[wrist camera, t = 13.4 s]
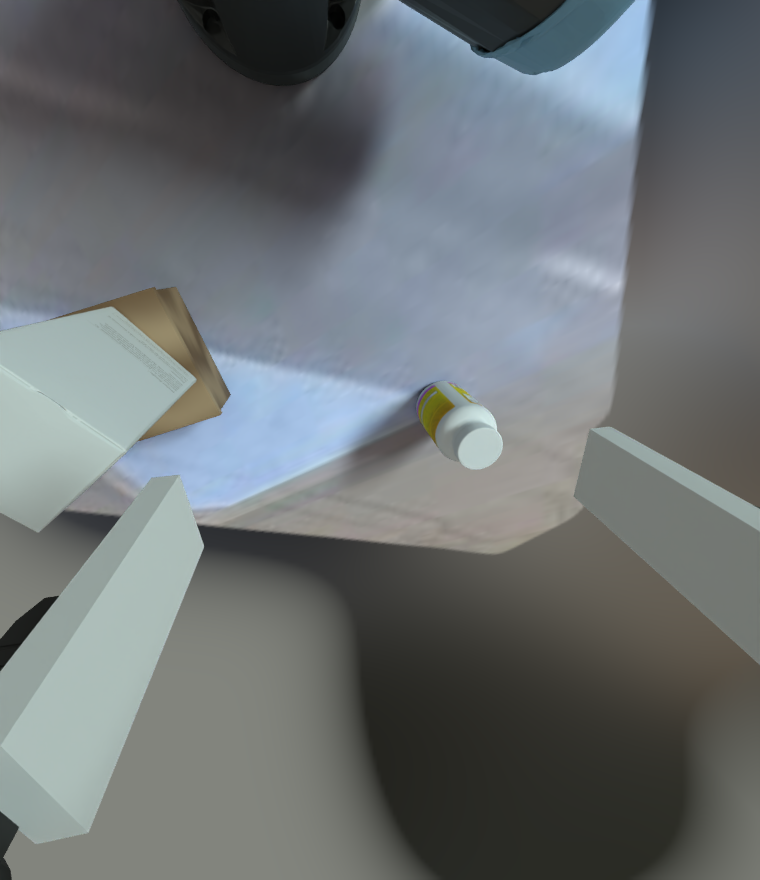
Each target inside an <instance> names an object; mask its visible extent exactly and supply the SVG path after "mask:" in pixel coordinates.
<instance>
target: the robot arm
mask: <svg viewBox="0 0 760 880" xmlns="http://www.w3.org/2000/svg"><path fill="white" fill-rule="evenodd" d="M399 1H401V2H402V3H404V4H406V5H407V6H409V7H410V8H412V9H414V10H415V11H417V12H418V13H420V14H422V15H423V16H425V17H427V18H428V19H430V20H431V21H433V22H435V23H436V24H438V25H439V26H441V27H443V28H444V29H446V30H448V31H449V32H451V33H452V34H454V35H456V36H457V37H459V38H460V39H462V40H464V41H465V42H467V43H469V44H470V46H471V50H472V51H473V52H475V53H476V54H477V55H479V56H481V57H484V58H495V59H497V60H499V61H501V62H502V63H504V64H506V65H508V66H510V67H512V68H514V69H516V70H518V71H519V72H522V73H524V74H529V75H537V74H540V73H542V72H548V71H553V70H556V69H558V68H560V67H562V66H564V65H565V64H567V63H568V62H570V61H572V60H573V59H575V58H576V57H577V56H579V55H580V54H581V53H583V52H584V51H585V50H586V49H587V48H589V47H590V46H591V45H592V44H593V43H594V42H595V41H597V40H598V39H599V38H600V37H601V36H602V35H603V34H604V33H605V32H606V31H607V30H608V29H609V28H610V27H611V26H612V25H613V24H614V23H615V22H616V21H617V20H618V19H619V18H620V16H621V15H622V14H623V13H624V12H625V11H626V10H627V9H628V8H629V7H630V6H631V5H632V3H633V2H634V1H635V0H399ZM178 2H179V4H180V6H181V8H182V10H183V11H184V13H185V15H186V17H187V18H188V20H189V22H190V23H191V25H192V26H193V28H194V29H195V31H196V32H197V33H198V35H199V36H200V37H201V39H202V40H203V41H204V42H205V43H206V45H207V46H208V47H209V48H210V49H211V50H212V51H213V52H214V53H215V54H216V55H217V56H218V57H219V58H220V59H221V60H223V61H224V62H225V63H226V64H227V65H229V66H230V67H231V68H233V69H234V70H236V71H237V72H239V73H241V74H243V75H244V76H246V77H249V78H251V79H253V80H256V81H259V82H262V83H266V84H271V85H293V84H298V83H301V82H305V81H307V80H309V79H312V78H313V77H315V76H317V75H318V74H320V73H321V72H323V71H324V70H325V69H326V68H327V67H329V66H330V65H331V64H332V63H333V61H334V60H335V59H336V58H337V57H338V55H339V54H340V52H341V51H342V50H343V48H344V46H345V45H346V43H347V41H348V39H349V37H350V35H351V32H352V30H353V27H354V24H355V21H356V18H357V15H358V11H359V6H360V2H361V0H178ZM574 497H575V498H576V499H577V500H578V501H579V502H580V503H581V504H583V505H584V506H585V507H586V508H587V509H588V510H589V511H590V512H592V514H594V515H595V516H596V517H597V518H598V519H599V520H600V521H601V522H603V523H604V524H605V525H606V526H607V527H608V528H609V529H610V530H611V531H612V532H614V533H615V534H616V535H617V536H618V537H619V538H620V539H621V540H622V541H623V542H625V543H626V544H627V545H628V546H629V547H630V548H631V549H632V550H633V551H635V552H636V553H637V554H638V555H639V556H640V557H641V558H642V559H644V560H645V561H646V562H647V563H648V564H649V565H650V566H651V567H652V568H653V569H654V570H656V571H657V572H658V573H659V574H660V575H661V576H662V577H663V578H664V579H666V580H667V581H668V582H669V583H670V584H671V585H672V586H673V587H674V588H675V589H677V590H678V591H679V592H680V593H681V594H682V595H683V596H684V597H685V598H687V599H688V600H689V601H690V602H691V603H692V604H693V605H694V606H695V607H697V608H698V609H699V610H700V611H701V612H702V613H703V614H704V615H705V616H707V617H708V618H709V619H710V620H711V621H712V622H713V623H714V624H715V625H716V626H718V627H719V628H720V629H721V630H722V631H723V632H724V633H725V634H726V635H727V636H729V637H730V638H731V639H732V640H733V641H734V642H735V643H736V644H738V645H739V646H740V647H741V648H742V649H743V650H744V651H745V652H746V653H748V654H749V655H750V656H751V657H752V658H753V659H754V660H755V661H756V662H757V663H758V664H760V508H759V507H757V506H754V505H752V504H750V503H748V502H746V501H744V500H743V499H741V498H739V497H737V496H735V495H733V494H732V493H730V492H728V491H726V490H724V489H723V488H721V487H719V486H717V485H715V484H713V483H712V482H710V481H708V480H706V479H704V478H703V477H701V476H699V475H697V474H695V473H694V472H692V471H690V470H688V469H686V468H684V467H683V466H681V465H679V464H677V463H675V462H674V461H672V460H670V459H668V458H666V457H665V456H663V455H661V454H659V453H657V452H655V451H654V450H652V449H650V448H648V447H646V446H645V445H642V444H641V443H639V442H637V441H636V440H634V439H632V438H630V437H628V436H626V435H625V434H623V433H621V432H619V431H617V430H615V429H613V428H612V427H604V428H595V429H590V431H589V435H588V439H587V443H586V447H585V451H584V455H583V459H582V464H581V468H580V472H579V476H578V480H577V484H576V488H575V492H574ZM203 548H204V545H203V542H202V539H201V536H200V533H199V531H198V527H197V524H196V522H195V519H194V516H193V513H192V510H191V507H190V504H189V501H188V498H187V495H186V492H185V490H184V487H183V484H182V481H181V478H180V475H174V476H165V477H156V478H151V479H150V481H149V482H148V483H147V485H146V486H145V487H144V488H143V490H142V491H141V492H140V493H139V495H138V496H137V497H136V499H135V500H134V501H133V502H132V504H131V505H130V506H129V508H128V509H127V510H126V511H125V513H124V514H123V515H122V516H121V518H120V519H119V520H118V522H117V523H116V524H115V525H114V527H113V528H112V529H111V531H110V532H109V533H108V535H107V536H106V537H105V538H104V540H103V541H102V542H101V544H100V545H99V546H98V547H97V548H96V550H95V551H94V552H93V554H92V555H91V556H90V557H89V559H88V560H87V561H86V563H85V564H84V565H83V566H82V568H81V569H80V570H79V571H78V573H77V574H76V576H75V577H74V578H73V579H72V580H71V582H70V583H69V584H68V586H67V587H66V588H65V590H64V591H63V592H62V593H61V595H60V596H55V597H48V598H44V599H43V600H42V601H40V602H39V603H38V604H37V605H35V606H34V607H33V608H32V609H30V610H29V611H28V612H27V613H25V614H24V615H23V616H22V617H20V618H19V619H18V620H17V621H15V623H14V624H13V625H12V626H11V627H10V628H9V630H8V631H7V632H6V633H5V634H4V636H3V637H2V638H1V639H0V880H12V879H11V871H10V868H9V867H8V865H7V863H6V861H5V859H4V858H3V857H4V855H5V853H6V851H7V849H8V847H9V846H10V843H11V842H12V840H13V838H14V836H15V834H16V832H17V830H19V831H21V832H22V833H23V834H24V835H26V836H27V837H28V838H29V839H30V840H32V841H33V842H34V843H35V844H39V843H44V842H49V841H53V840H58V839H62V838H67V837H71V836H75V835H80V834H85V833H88V832H89V830H90V827H91V825H92V822H93V820H94V817H95V814H96V812H97V810H98V807H99V805H100V802H101V800H102V797H103V795H104V792H105V790H106V787H107V785H108V782H109V780H110V777H111V775H112V773H113V770H114V768H115V765H116V763H117V760H118V758H119V755H120V753H121V750H122V748H123V745H124V743H125V741H126V738H127V735H128V733H129V731H130V728H131V726H132V723H133V721H134V718H135V716H136V713H137V711H138V708H139V706H140V704H141V701H142V698H143V696H144V694H145V691H146V688H147V686H148V684H149V681H150V679H151V676H152V674H153V671H154V669H155V666H156V664H157V662H158V659H159V656H160V654H161V652H162V649H163V647H164V644H165V641H166V639H167V637H168V634H169V632H170V629H171V627H172V624H173V622H174V619H175V617H176V615H177V612H178V609H179V607H180V605H181V602H182V600H183V597H184V595H185V592H186V590H187V587H188V585H189V582H190V580H191V577H192V575H193V573H194V570H195V568H196V565H197V562H198V560H199V558H200V555H201V553H202V550H203Z"/></svg>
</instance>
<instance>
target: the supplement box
mask: <svg viewBox="0 0 760 880" xmlns="http://www.w3.org/2000/svg"><path fill="white" fill-rule="evenodd" d="M196 380H197V379H196V378H195V377H194V376H193V375H192V374H191V373H189V372H188V371H187V370H186V369H185V368H184V367H182V366H181V365H180V364H179V363H178V362H177V361H176V360H174V359H173V358H172V357H171V356H170V355H169V354H167V353H166V352H165V351H164V350H163V349H162V348H160V347H159V346H158V345H157V344H156V343H155V342H153V341H152V340H151V339H150V338H149V337H148V336H147V335H145V334H144V333H143V332H142V331H141V330H140V329H138V328H137V327H136V326H135V325H134V324H133V323H131V322H130V321H129V320H128V319H127V318H126V317H124V316H123V315H122V314H121V313H120V312H119V311H117V310H116V309H115V308H114V307H106V308H102V309H97V310H93V311H88V312H84V313H79V314H74V315H70V316H66V317H61V318H57V319H52V320H48V321H43V322H39V323H34V324H30V325H25V326H21V327H16V328H12V329H7V330H3V331H0V513H2V514H3V515H6V516H7V517H9V518H11V519H13V520H15V521H17V522H19V523H21V524H23V525H24V526H26V527H28V528H30V529H32V530H34V531H35V532H40V531H41V530H42V529H43V528H44V527H46V526H47V525H48V524H49V523H50V522H51V521H52V520H53V519H54V518H55V517H57V516H58V515H59V514H60V513H61V512H62V511H63V510H65V509H66V508H67V507H68V506H69V505H70V504H71V503H72V502H74V501H75V500H76V499H77V498H78V497H79V496H80V495H81V494H83V493H84V492H85V491H86V490H87V489H88V488H89V487H90V486H91V485H93V484H94V483H95V482H96V481H97V480H98V479H99V478H100V477H101V476H102V475H103V474H105V473H106V472H107V471H108V470H109V469H110V468H111V467H112V466H113V465H114V464H115V463H116V462H117V461H118V460H119V459H120V458H121V457H122V456H123V455H125V454H126V452H127V451H128V450H129V449H130V448H131V447H132V446H133V445H134V444H135V443H136V442H137V441H138V440H139V439H140V438H141V437H142V436H143V435H144V434H145V433H146V432H147V431H148V430H149V429H150V428H151V427H152V426H153V425H154V424H155V423H156V422H157V421H158V420H159V419H160V418H161V417H162V416H163V415H164V414H165V413H166V412H167V411H168V410H169V409H170V408H171V407H172V406H173V405H174V404H175V402H176V401H177V400H178V399H179V398H180V397H181V396H182V395H183V394H184V393H185V392H186V391H187V390H188V389H189V388H190V387H191V386H192V385H193V384H194V383H195V382H196Z"/></svg>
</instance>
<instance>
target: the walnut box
mask: <svg viewBox="0 0 760 880" xmlns="http://www.w3.org/2000/svg"><path fill="white" fill-rule="evenodd" d="M106 307H114V308H115V309H116V310H117V311H119V312H120V313H121V314H122V315H123V316H124V317H126V318H127V319H128V320H129V321H130V322H131V323H133V324H134V325H135V326H136V327H137V328H138V329H140V330H141V331H142V332H143V333H144V334H145V335H147V336H148V337H149V338H150V339H151V340H152V341H153V342H155V343H156V344H157V345H158V346H159V347H160V348H162V349H163V350H164V351H165V352H166V353H167V354H169V355H170V356H171V357H172V358H173V359H174V360H176V361H177V362H178V363H179V364H180V365H181V366H182V367H184V368H185V369H186V370H187V371H188V372H189V373H191V374H192V375H193V376H194V377H195V378H196V379H197V380H196V382H195V383H194V384H193V385H192V386H191V387H190V388H189V389H188V390H187V391H186V392H185V393H184V394H183V395H182V396H181V397H180V398H179V399H178V400H177V401H176V402H175V404H174V405H173V406H172V407H171V408H170V409H169V410H168V411H167V412H166V413H165V414H164V415H163V416H162V417H161V418H160V419H159V420H158V421H157V422H156V423H155V424H154V425H153V426H152V427H151V428H150V429H149V430H148V431H147V432H146V433H145V434H144V435H143V436H142V437H141V438H140V439H139V440H138V441H141V440H144V439H147V438H150V437H153V436H156V435H160V434H163V433H166V432H169V431H172V430H175V429H178V428H181V427H185V426H188V425H191V424H194V423H197V422H200V421H203V420H206V419H210V418H213V417H216V416H219V415H221V414H222V412H221V408H222V407H223V405H224V404H225V402H226V401H227V400H228V398H229V397H230V395H231V394H230V392H229V391H228V389H227V387H226V385H225V383H224V381H223V379H222V377H221V375H220V373H219V371H218V369H217V367H216V365H215V363H214V361H213V359H212V357H211V355H210V353H209V351H208V349H207V347H206V345H205V343H204V341H203V339H202V337H201V335H200V333H199V331H198V329H197V327H196V325H195V323H194V322H193V320H192V318H191V316H190V314H189V312H188V310H187V308H186V306H185V304H184V302H183V300H182V298H181V296H180V294H179V292H178V290H177V288H176V287H173V288H166V289H159V290H156V288H155V287H152V288H149V289H146V290H143V291H140V292H136V293H133V294H130V295H127V296H124V297H120V298H117V299H114V300H111V301H108V302H104V303H101V304H98V305H95V306H92V307H88V308H85V309H82V310H79V311H76V312H72V313H69V314H66V315H63V316H60V317H56V318H53V319H57V318H61V317H66V316H70V315H74V314H79V313H84V312H88V311H93V310H97V309H102V308H106ZM50 320H52V319H50ZM47 321H48V320H47ZM138 441H137V442H138Z"/></svg>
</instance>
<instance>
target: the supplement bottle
mask: <svg viewBox="0 0 760 880" xmlns="http://www.w3.org/2000/svg"><path fill="white" fill-rule="evenodd" d="M416 412H417V416H418V418H419V420H420V422H421V423H422V425H423V426H424V428H425V429H426V431H427V432H428V434H429V435H430V437H431V438H432V439H433V441H434V442H435V444H436V445H437V447H438V448H439V450H440V451H441V452H442V454H443V455H444V456H446V457H447V458H449V459H451V460H453V461H457V462H460V463H461V464H462V465H463V466H464V467H466V468H468V469H472V470H478V469H483V468H486V467H488V466H490V465H491V464H492V463H494V462H495V461H496V460H497V458H498V457H499V455H500V454H501V451H502V447H503V442H502V438H501V436H500V434H499V433H498V432H497V425H496V421H495V419H494V417H493V415H492V414H491V413H490V412H489V411H488V410H487V409H486V408H485V407H483V406H482V405H481V404H480V403H479V402H477V401H476V400H475V399H474V398H473V397H471V396H470V395H469V394H468V393H467V392H466V391H464V390H463V389H462V388H461V387H459V386H458V385H456V384H455V383H452V382H449V381H439V382H435V383H433V384H431V385H429V386H428V387H426V388H425V389H424V390H423V391H422V393H421V394H420V396H419V398H418V400H417V404H416Z"/></svg>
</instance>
